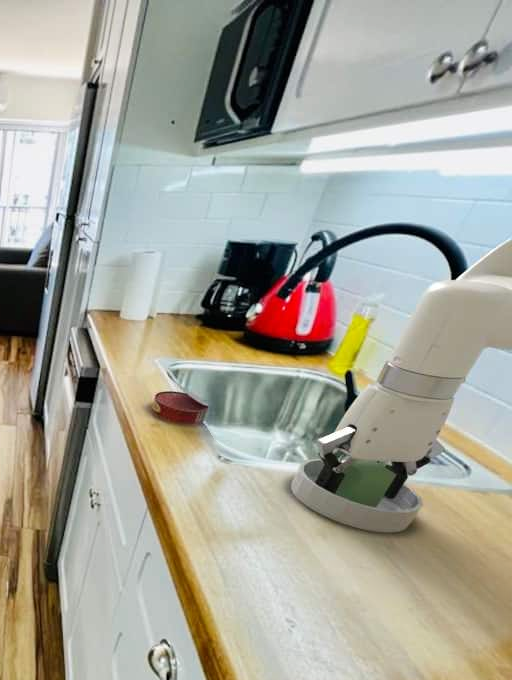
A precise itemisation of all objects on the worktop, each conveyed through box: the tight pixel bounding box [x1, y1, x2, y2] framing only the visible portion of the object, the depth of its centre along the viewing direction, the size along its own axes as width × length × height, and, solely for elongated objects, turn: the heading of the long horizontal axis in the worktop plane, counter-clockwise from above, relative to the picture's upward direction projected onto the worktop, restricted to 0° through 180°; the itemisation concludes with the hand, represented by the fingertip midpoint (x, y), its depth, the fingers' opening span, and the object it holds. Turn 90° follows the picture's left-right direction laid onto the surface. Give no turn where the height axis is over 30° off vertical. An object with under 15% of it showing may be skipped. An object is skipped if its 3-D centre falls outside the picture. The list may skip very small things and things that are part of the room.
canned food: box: [150, 370, 210, 426], centre depth 97 cm, size 11×10×10 cm
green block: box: [335, 457, 396, 508], centre depth 70 cm, size 4×4×6 cm
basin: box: [290, 458, 424, 533], centre depth 71 cm, size 14×14×4 cm
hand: (353, 491), depth 71 cm, fingers open, 8 cm apart
